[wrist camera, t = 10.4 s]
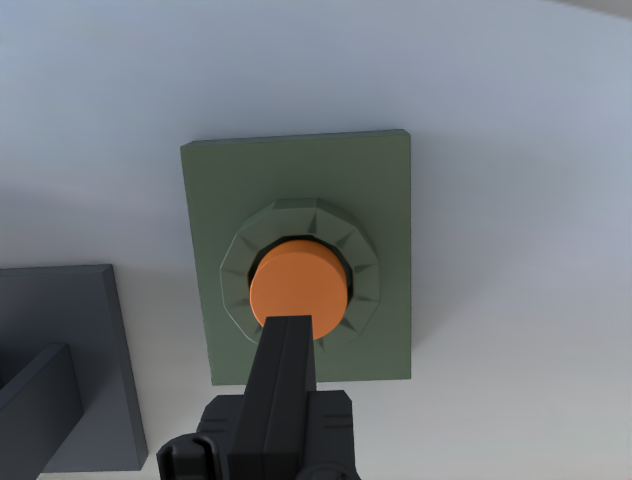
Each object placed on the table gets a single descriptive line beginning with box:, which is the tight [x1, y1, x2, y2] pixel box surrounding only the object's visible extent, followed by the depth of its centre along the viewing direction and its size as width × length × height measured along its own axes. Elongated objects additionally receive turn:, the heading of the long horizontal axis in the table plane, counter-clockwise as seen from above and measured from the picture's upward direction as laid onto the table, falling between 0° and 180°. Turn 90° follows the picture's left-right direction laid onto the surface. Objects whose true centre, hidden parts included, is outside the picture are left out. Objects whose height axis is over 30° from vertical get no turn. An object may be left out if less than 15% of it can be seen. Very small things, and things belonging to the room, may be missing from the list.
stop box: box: [180, 129, 411, 386], centre depth 24 cm, size 12×10×4 cm
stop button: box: [250, 239, 348, 340], centre depth 22 cm, size 4×4×2 cm
